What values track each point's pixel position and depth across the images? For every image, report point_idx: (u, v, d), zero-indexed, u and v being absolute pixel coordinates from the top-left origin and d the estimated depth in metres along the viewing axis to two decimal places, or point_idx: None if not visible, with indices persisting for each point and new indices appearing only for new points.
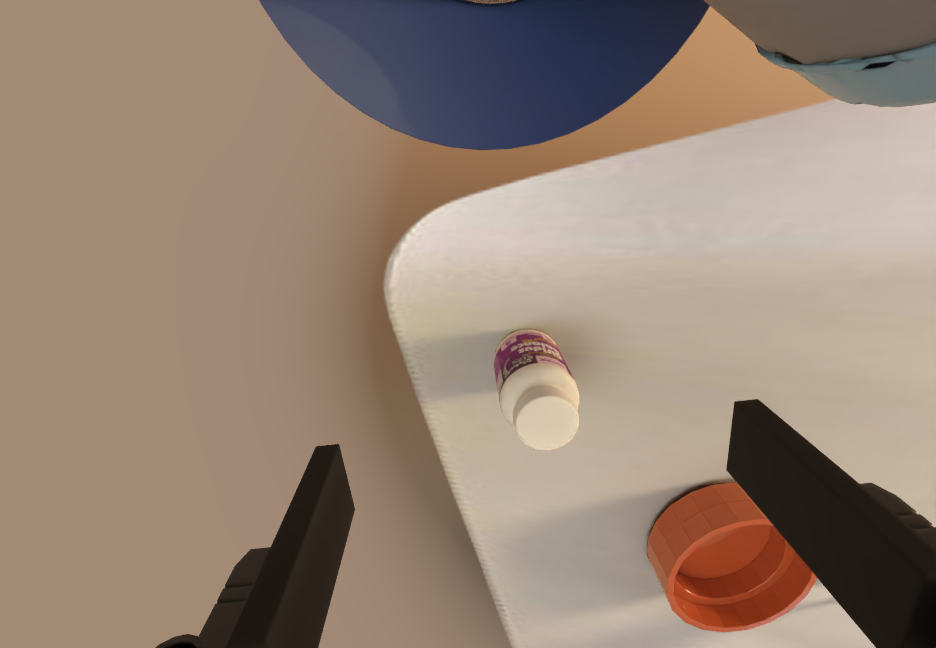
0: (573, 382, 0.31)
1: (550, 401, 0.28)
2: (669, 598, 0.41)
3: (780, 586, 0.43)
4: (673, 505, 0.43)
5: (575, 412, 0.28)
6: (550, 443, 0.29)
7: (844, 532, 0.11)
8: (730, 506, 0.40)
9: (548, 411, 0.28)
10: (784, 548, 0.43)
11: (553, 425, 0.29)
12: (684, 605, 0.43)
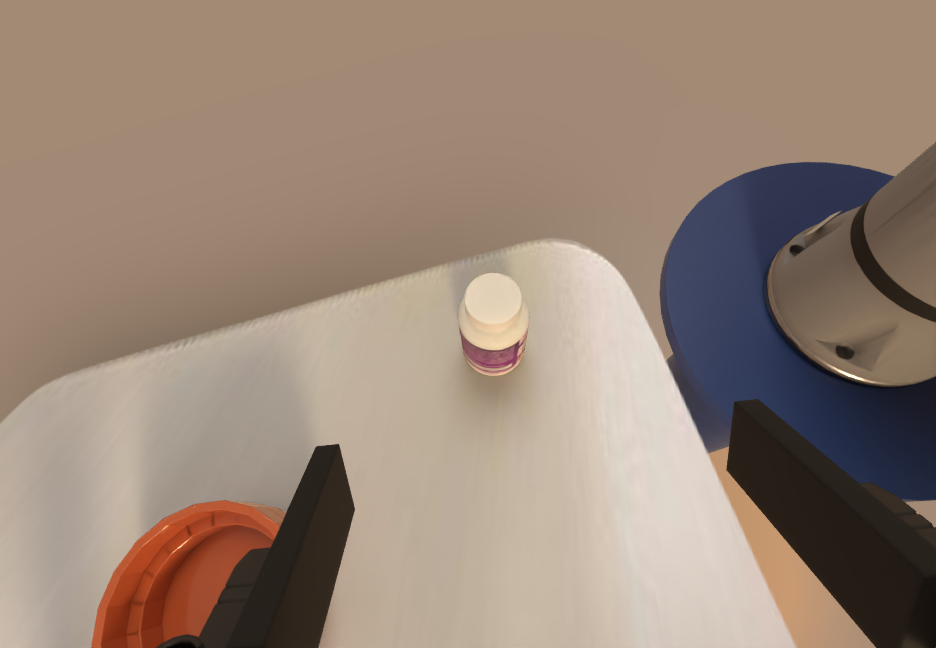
0: (514, 340, 0.33)
1: (516, 297, 0.32)
2: (188, 509, 0.32)
3: None
4: None
5: (506, 319, 0.31)
6: (472, 301, 0.32)
7: (844, 532, 0.11)
8: None
9: (506, 297, 0.32)
10: None
11: (492, 302, 0.32)
12: (153, 548, 0.32)
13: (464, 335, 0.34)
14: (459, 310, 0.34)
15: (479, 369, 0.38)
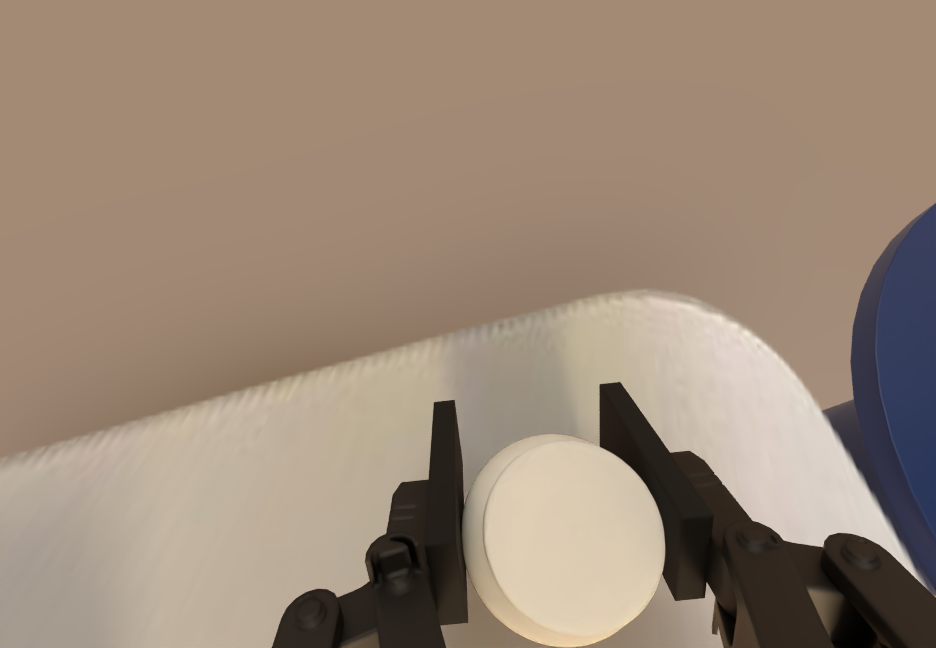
0: None
1: (648, 535, 0.10)
2: None
3: None
4: None
5: (621, 621, 0.09)
6: (509, 544, 0.10)
7: (649, 489, 0.13)
8: None
9: (617, 532, 0.10)
10: None
11: (573, 550, 0.10)
12: None
13: (479, 595, 0.12)
14: (466, 519, 0.13)
15: None
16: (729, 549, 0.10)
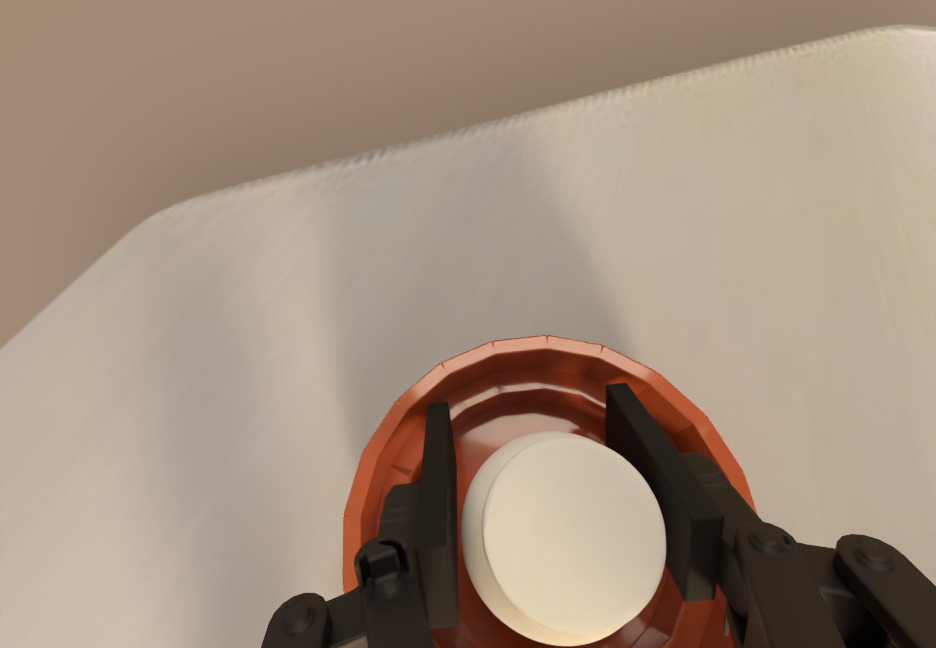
0: None
1: (649, 533, 0.10)
2: (481, 348, 0.17)
3: None
4: None
5: (622, 620, 0.09)
6: (508, 542, 0.10)
7: (658, 491, 0.13)
8: None
9: (617, 530, 0.10)
10: None
11: (573, 548, 0.10)
12: (411, 423, 0.18)
13: (478, 593, 0.12)
14: (465, 517, 0.13)
15: None
16: (741, 550, 0.10)
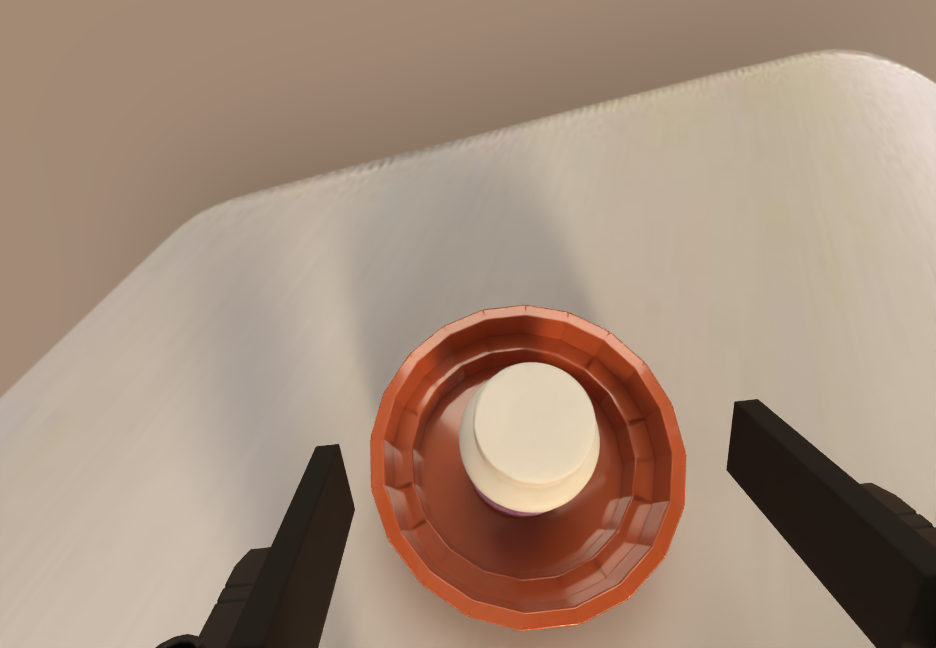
0: (573, 494, 0.16)
1: (585, 421, 0.15)
2: (474, 315, 0.22)
3: (454, 579, 0.19)
4: None
5: (564, 473, 0.14)
6: (491, 428, 0.15)
7: (843, 532, 0.11)
8: None
9: (563, 419, 0.15)
10: (546, 576, 0.20)
11: (534, 430, 0.15)
12: (420, 374, 0.23)
13: (471, 479, 0.17)
14: (462, 427, 0.17)
15: (496, 509, 0.22)
16: None
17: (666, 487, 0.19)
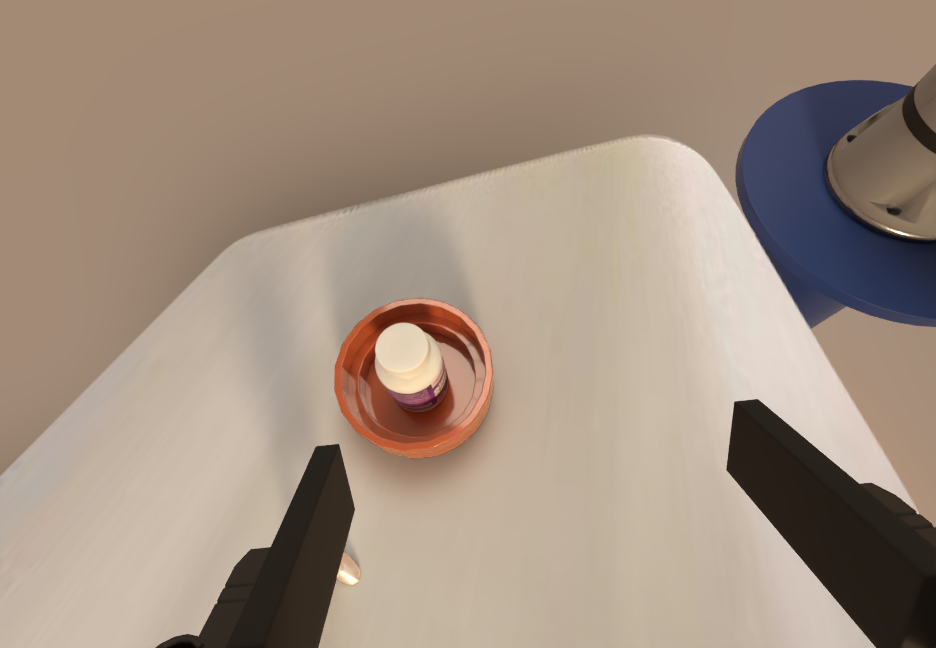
0: (425, 384, 0.36)
1: (423, 347, 0.34)
2: (393, 303, 0.41)
3: None
4: None
5: (411, 368, 0.33)
6: (382, 350, 0.34)
7: (844, 532, 0.11)
8: None
9: (414, 346, 0.34)
10: (423, 435, 0.39)
11: (400, 351, 0.34)
12: (364, 335, 0.42)
13: None
14: (376, 355, 0.37)
15: (402, 406, 0.41)
16: None
17: None
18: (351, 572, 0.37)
